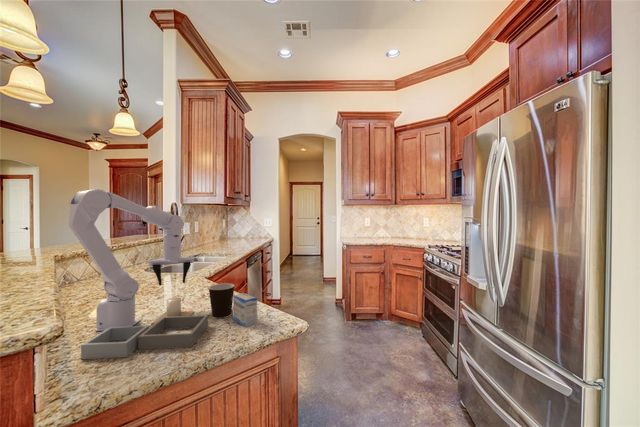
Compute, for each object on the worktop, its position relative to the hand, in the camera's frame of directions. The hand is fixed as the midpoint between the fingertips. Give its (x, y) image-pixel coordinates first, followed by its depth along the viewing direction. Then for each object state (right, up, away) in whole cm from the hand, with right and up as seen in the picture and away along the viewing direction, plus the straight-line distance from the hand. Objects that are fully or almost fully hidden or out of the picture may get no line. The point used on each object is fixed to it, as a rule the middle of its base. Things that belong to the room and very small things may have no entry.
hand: (172, 283), depth 101 cm
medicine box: (+30, -10, -11) cm, 34 cm away
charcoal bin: (+13, -10, -22) cm, 27 cm away
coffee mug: (+20, -10, -3) cm, 23 cm away
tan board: (+5, -10, -8) cm, 13 cm away
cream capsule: (+5, -10, -8) cm, 13 cm away
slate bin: (+1, -10, -28) cm, 30 cm away
